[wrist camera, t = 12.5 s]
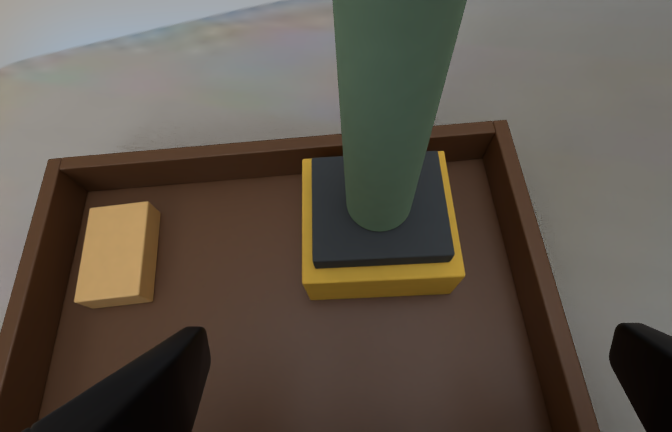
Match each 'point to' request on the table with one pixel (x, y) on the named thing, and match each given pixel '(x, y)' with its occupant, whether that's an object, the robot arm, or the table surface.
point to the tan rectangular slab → (119, 256)
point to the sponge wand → (384, 159)
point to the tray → (298, 300)
